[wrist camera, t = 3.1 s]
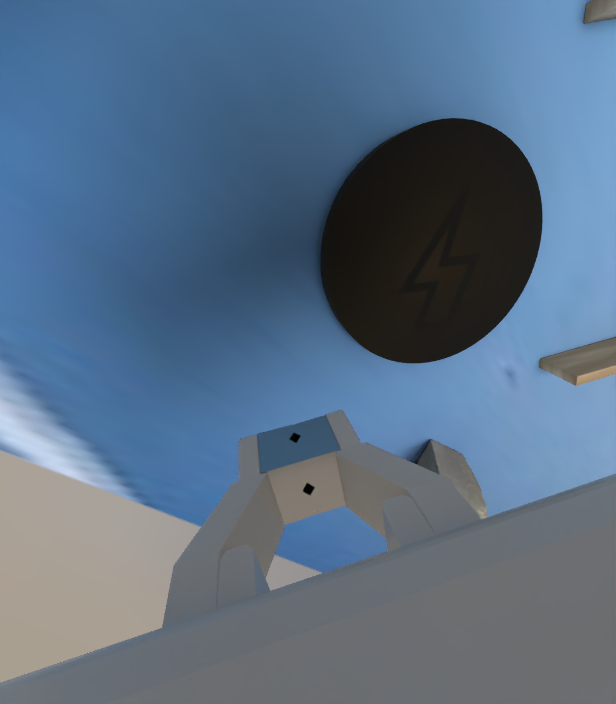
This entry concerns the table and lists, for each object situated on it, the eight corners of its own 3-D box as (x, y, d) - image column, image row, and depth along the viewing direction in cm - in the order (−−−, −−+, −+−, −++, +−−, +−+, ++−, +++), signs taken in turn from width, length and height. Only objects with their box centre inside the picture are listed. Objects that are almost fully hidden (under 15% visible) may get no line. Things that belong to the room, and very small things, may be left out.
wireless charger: (521, 93, 24) (545, 83, 22) (522, 316, 31) (539, 322, 29) (289, 169, 22) (294, 165, 21) (349, 380, 30) (356, 391, 28)
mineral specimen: (406, 435, 33) (471, 497, 26) (458, 442, 37) (524, 496, 31) (374, 492, 35) (427, 563, 28) (426, 492, 39) (483, 553, 32)
